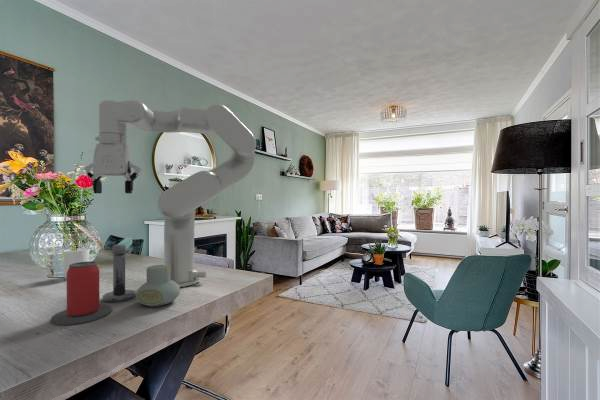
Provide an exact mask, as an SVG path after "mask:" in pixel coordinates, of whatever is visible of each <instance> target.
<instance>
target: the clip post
mask: <svg viewBox="0 0 600 400" xmlns="http://www.w3.org/2000/svg"><path fill="white" fill-rule="evenodd" d="M112 271H113V273H112V281H113V282H112V283H113V284H112V285H113V286H112V287H113V288H112V289H113V290H112V291H109V292H106V293H104V294H103V295H102V301H103V302H104V303H109V304H112V303H121V302H125V301H126V302H127V301H130V300H132V299H134V298H135V297H136V291H135V290H134V289H126V253H125V254H117V255H115V254H113V253H112Z"/></svg>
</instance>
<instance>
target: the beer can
mask: <svg viewBox="0 0 600 400" xmlns="http://www.w3.org/2000/svg"><path fill="white" fill-rule="evenodd" d="M99 304H100V268H99V267H98V263H97V262H96V261H89V262H79V263H73V264H70V265H69V269H68V271H67V279H66V310H67V315H69V316H73V317H79V316H85V315H89V314H92V313H94V312H96V311H97V310H98V309H99V308H100V305H99Z"/></svg>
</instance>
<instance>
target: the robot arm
mask: <svg viewBox="0 0 600 400" xmlns="http://www.w3.org/2000/svg"><path fill="white" fill-rule="evenodd" d="M98 119H99V120H98V124H99V125H98V130H99V131H98V136H95V138H94V139H95V140H94V141H96V142H98V143H96V144H95V149H94V152H93V159H92V163H91V164H89V165H87V166H84V172H85V173H86V175H87V176H88V178H90V180H91V181H92V190H93V194H102V193H103V188H102V187H103V186H102V185H103V181H101V179H102V178H103V177H105V176H116V177H117V176H122V177H124V178H125V181H124V192H125V194H133V190H134V181H135V180H136V179H137V178H138V176H139V174H140V173H141V171H142V168H141V167H140V166H138V165H137V164H134V163H132V159H131V151H130V148H129V145H127V124H129V125H132V126H134V127H135V128H137V129H139V130H141V131H144V132H145V131H146V132H156V133H170V134H171V133H191V134H193V133H194V134H202V135H203V134H204V135H213V136H218V137H219V138H220V139H221V140H222V141H223V142H224V143H225V144H226V145H227V146H228V147H229V148H230V151H231V156H230V158H228V159H227V160H225V161H223V162H221V163H220V164H218V165H217V166H215V167H213V168H212V169H209V170H200V171H198V172H195V173H193V174H191V175H190V176H188V177H186V178H184V179H183V180H181V181H179V182H178V183H176V184H174V185H173V186H171V187H170V188H168V189H166V190H164V191H163V192H162V193H161V195H160V196H159V197H158V200H157V209H158V211H159V213H160V214H161V215H162V216H164V224H163V226H164V227H163V250H164V251H163V265H169V266H170V280H172V281H174V282H176V283H177V284H178V285H179V287H180V288H184V287H188V286H194V285H195V284H198V282H199V281H200V279H202V278H203V279H204V278H205V279H206V278H207V277H208V272H207V271H205V270H201V271H199V270H198V269H197V268H198V267H197V266H196V267H195V217H196V215H195V214H196V209H198V208H200V207H201V206H203V205H205V204H206V203H207V202H209V201H211V200H214V199H215V198H217V197H218V196H219V195H220V194H222V193H223V192H225V191H226V190H228V189H230V188H231V187H232V186H234V185H235V184H237V183H239V182H241V180H244V178H245V177H247V176H249V175H248V174H250V172H251V171H252V169H253V167H254V165H255V159H256V155H255V154H256V148H257V141H256V140H257V139H256V138H255V136H254V135H253V133H252V132H251V131H250V129H248V128H247V126H245V124H244V123H243V122H241V121H240V119H239V118H238V117H237V116H236V115H235V114H234V113H233V112H232V111H231V110H230V109H229V108H228V107H227V106H225V105H223V104H220V103H215V104H214V103H213V104H211V105H209V106H207V108H204V107H203V108H202V107H193V106H185V105H184V106H181V107H178V108H177V109H176V110H172V111H163V110H162V111H161V110H153V109H152V110H151V109H150V108H149V107H147V106H146V104H144V103H143V102H142V101H139V100H136V99H135V100H132V99H131V100H123V101H116V100H107V99H106V100H102V101H100V103H99V106H98ZM132 169H133V172H132Z"/></svg>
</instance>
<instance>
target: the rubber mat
mask: <svg viewBox="0 0 600 400" xmlns="http://www.w3.org/2000/svg"><path fill="white" fill-rule="evenodd" d="M99 305H100V308H99V309H98V310H97V311H96V312H94V313H92V314H89V315H85V316H79V317H73V316H69V315H67V309H65V310H62V311H60V312H57V313H55V314H54V315H52V317H51V318H50V322H51V324H53V325H56V326H76V325H77V326H78V325H82V324H87V323H90V322H94V321H97V320H101V319H103V318H105V317H107V316H109V315H110V314H111V313H112V311H113V310H112V306H110V305H108V304H100V303H99Z"/></svg>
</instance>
